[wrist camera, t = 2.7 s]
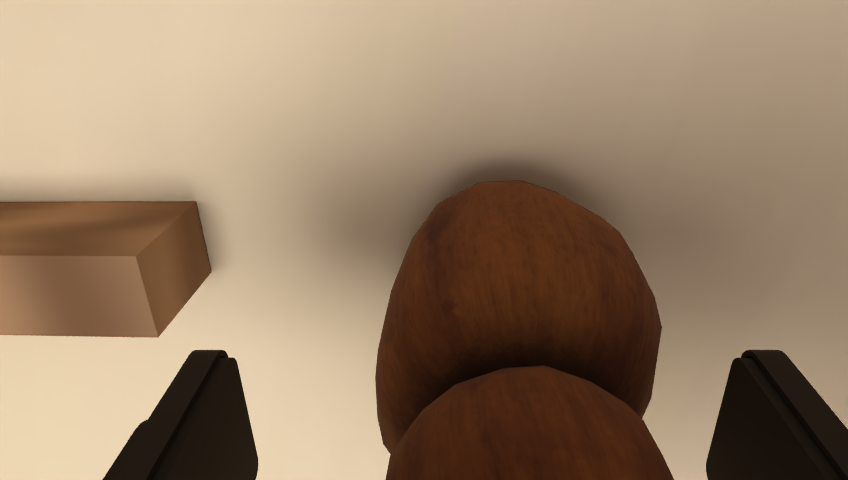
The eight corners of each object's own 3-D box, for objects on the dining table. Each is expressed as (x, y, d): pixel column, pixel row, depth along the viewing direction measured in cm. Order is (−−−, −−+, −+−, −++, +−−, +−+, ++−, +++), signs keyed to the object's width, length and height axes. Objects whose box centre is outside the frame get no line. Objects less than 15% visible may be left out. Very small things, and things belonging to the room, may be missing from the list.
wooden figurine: (437, 121, 16) (261, 1058, 2) (637, 180, 16) (1466, 1291, 3) (378, 319, 19) (151, 1234, 5) (548, 366, 19) (734, 1336, 6)
